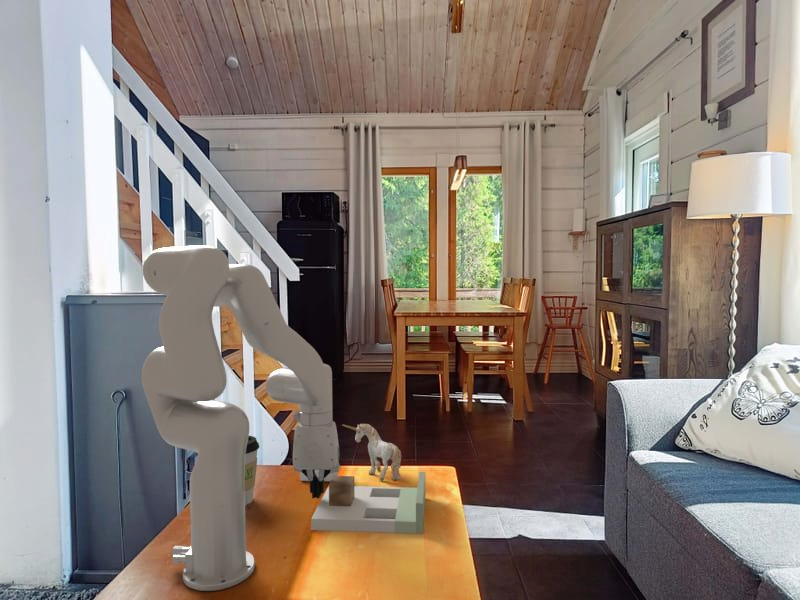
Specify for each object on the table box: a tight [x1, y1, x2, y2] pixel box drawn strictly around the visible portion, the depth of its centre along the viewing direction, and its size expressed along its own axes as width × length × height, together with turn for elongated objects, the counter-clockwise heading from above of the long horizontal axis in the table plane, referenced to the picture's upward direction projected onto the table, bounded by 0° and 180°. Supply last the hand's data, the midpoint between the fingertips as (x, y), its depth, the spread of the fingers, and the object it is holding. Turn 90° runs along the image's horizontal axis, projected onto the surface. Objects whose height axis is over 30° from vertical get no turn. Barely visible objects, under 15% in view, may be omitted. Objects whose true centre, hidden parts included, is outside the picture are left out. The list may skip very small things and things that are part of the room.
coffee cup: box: [245, 435, 260, 506], centre depth 127 cm, size 10×10×15 cm
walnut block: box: [328, 475, 355, 506], centre depth 121 cm, size 5×5×5 cm
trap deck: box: [310, 471, 426, 535], centre depth 121 cm, size 24×18×6 cm
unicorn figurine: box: [342, 423, 402, 482], centre depth 144 cm, size 7×20×13 cm, turn 55°
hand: (317, 495), depth 122 cm, fingers closed
